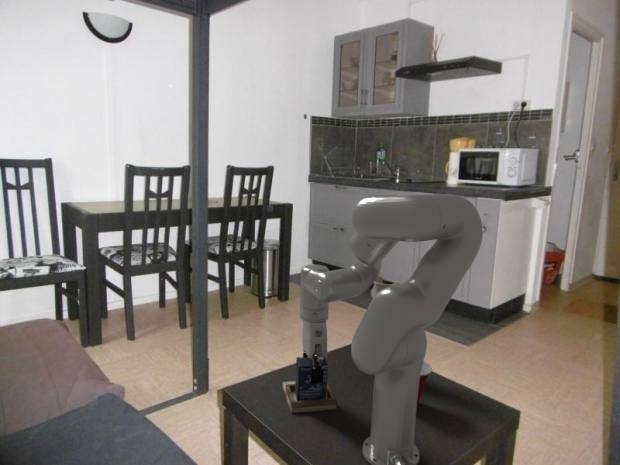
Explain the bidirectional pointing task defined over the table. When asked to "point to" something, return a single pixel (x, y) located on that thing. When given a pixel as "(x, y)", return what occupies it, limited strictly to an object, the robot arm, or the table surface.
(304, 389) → the box
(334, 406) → the plate
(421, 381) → the plastic cup
